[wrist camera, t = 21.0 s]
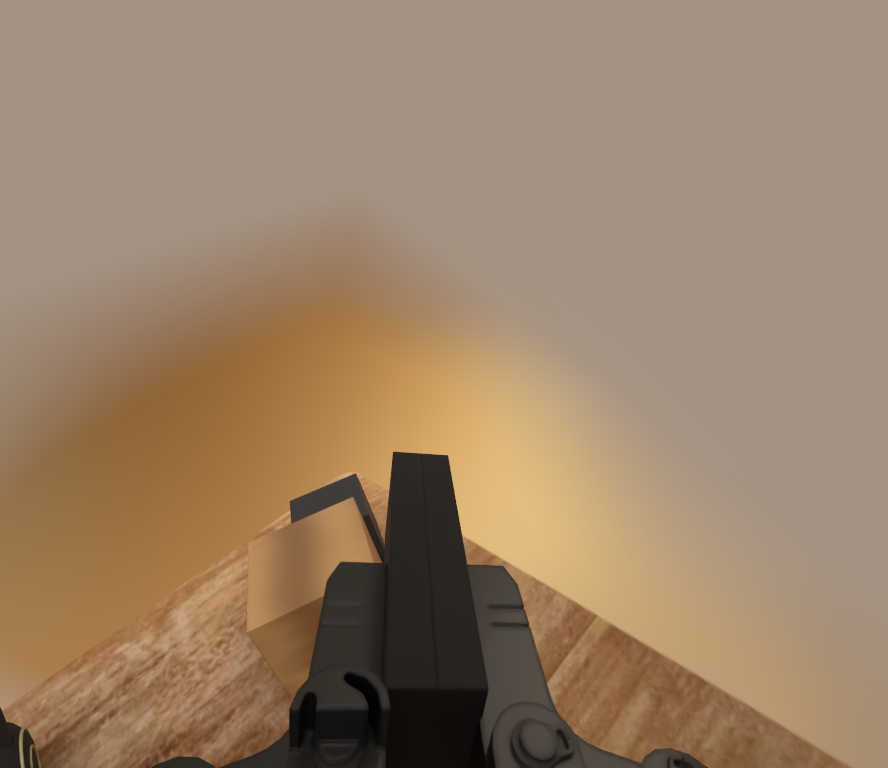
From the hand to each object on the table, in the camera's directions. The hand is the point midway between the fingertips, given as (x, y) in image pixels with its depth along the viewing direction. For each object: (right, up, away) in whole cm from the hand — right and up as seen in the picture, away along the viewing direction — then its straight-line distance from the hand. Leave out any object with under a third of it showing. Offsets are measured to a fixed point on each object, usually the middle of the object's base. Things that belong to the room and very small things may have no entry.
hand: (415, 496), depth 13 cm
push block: (-7, -18, +27) cm, 33 cm away
